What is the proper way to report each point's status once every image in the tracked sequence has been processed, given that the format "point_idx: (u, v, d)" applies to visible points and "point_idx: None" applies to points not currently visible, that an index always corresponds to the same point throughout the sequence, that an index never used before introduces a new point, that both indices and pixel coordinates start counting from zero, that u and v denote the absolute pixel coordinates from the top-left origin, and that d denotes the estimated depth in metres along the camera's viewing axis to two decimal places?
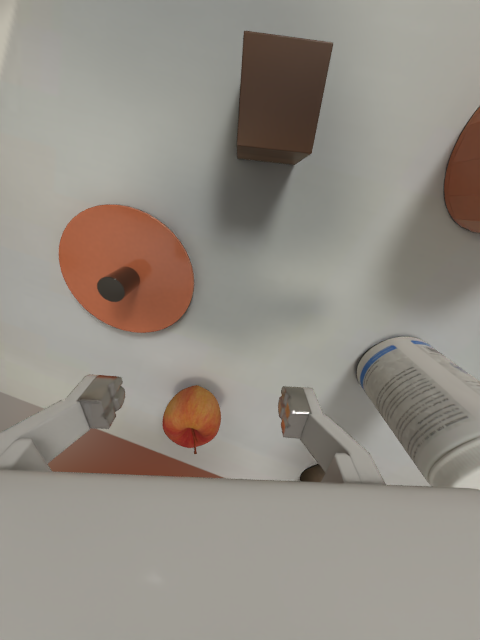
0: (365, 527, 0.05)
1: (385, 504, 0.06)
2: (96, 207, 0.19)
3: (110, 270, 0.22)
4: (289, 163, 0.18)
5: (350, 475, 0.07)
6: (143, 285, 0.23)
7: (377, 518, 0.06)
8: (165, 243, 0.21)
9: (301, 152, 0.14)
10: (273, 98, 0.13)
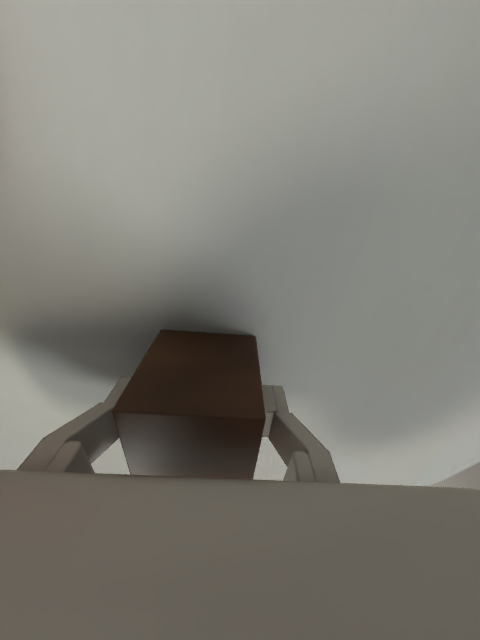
0: (365, 527, 0.05)
1: (385, 504, 0.06)
2: None
3: None
4: None
5: (305, 473, 0.07)
6: None
7: (377, 518, 0.06)
8: None
9: None
10: (190, 451, 0.08)
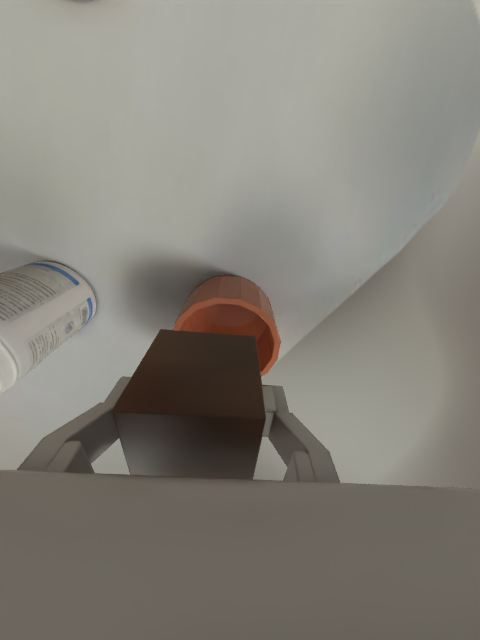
0: (365, 527, 0.05)
1: (385, 504, 0.06)
2: None
3: None
4: None
5: (305, 473, 0.07)
6: None
7: (377, 518, 0.06)
8: None
9: None
10: (189, 451, 0.08)
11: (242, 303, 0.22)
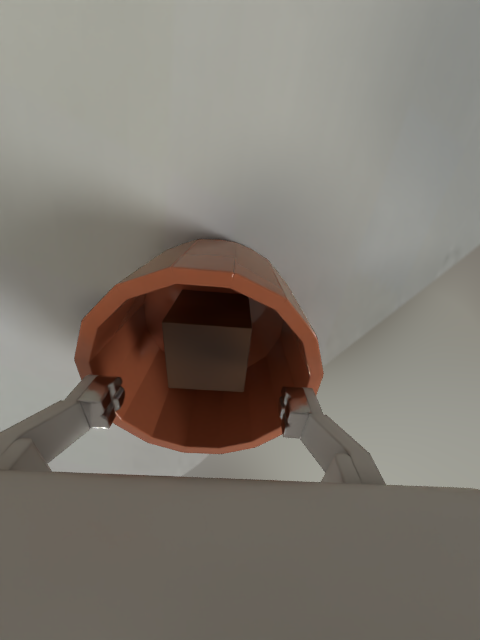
0: (365, 527, 0.05)
1: (385, 504, 0.06)
2: None
3: None
4: None
5: (350, 475, 0.07)
6: None
7: (377, 518, 0.06)
8: None
9: (167, 379, 0.14)
10: (205, 355, 0.13)
11: (239, 285, 0.09)
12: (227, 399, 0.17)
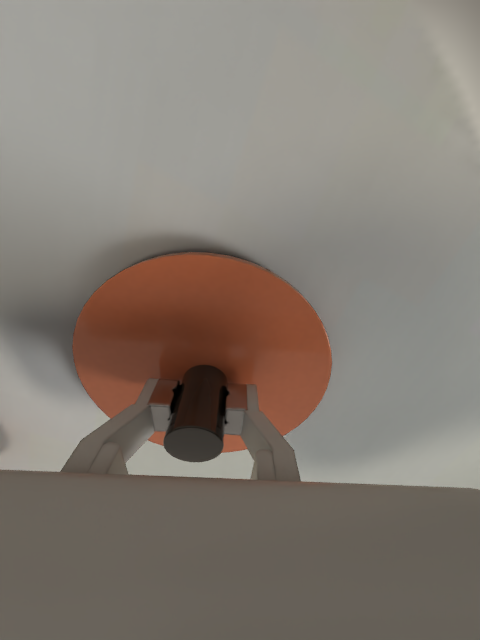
0: (365, 527, 0.05)
1: (385, 504, 0.06)
2: (330, 362, 0.11)
3: (218, 357, 0.11)
4: None
5: (266, 471, 0.07)
6: None
7: (377, 518, 0.06)
8: None
9: None
10: None
11: None
12: None
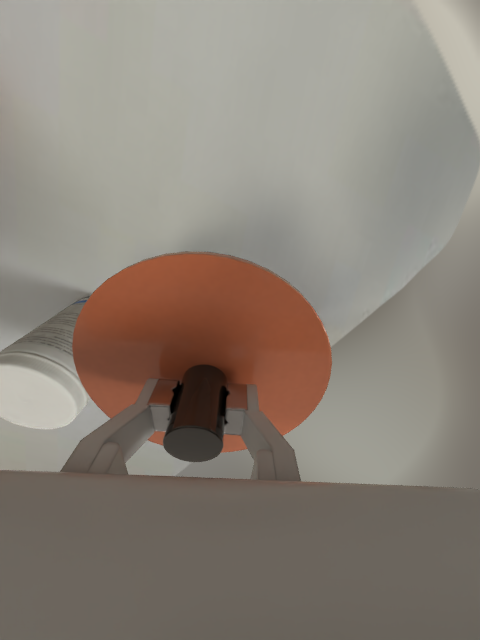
0: (365, 527, 0.05)
1: (385, 504, 0.06)
2: (329, 362, 0.11)
3: (217, 357, 0.11)
4: None
5: (266, 472, 0.07)
6: None
7: (377, 518, 0.06)
8: None
9: None
10: None
11: None
12: None
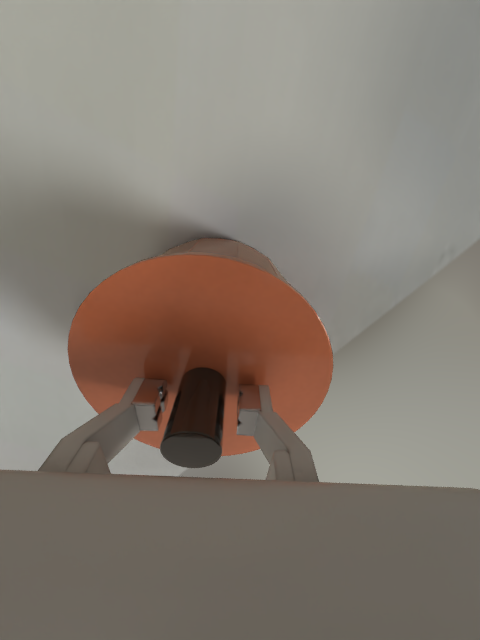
0: (365, 527, 0.05)
1: (385, 504, 0.06)
2: (331, 365, 0.11)
3: (216, 359, 0.11)
4: None
5: (284, 472, 0.07)
6: None
7: (377, 518, 0.06)
8: None
9: None
10: None
11: None
12: None
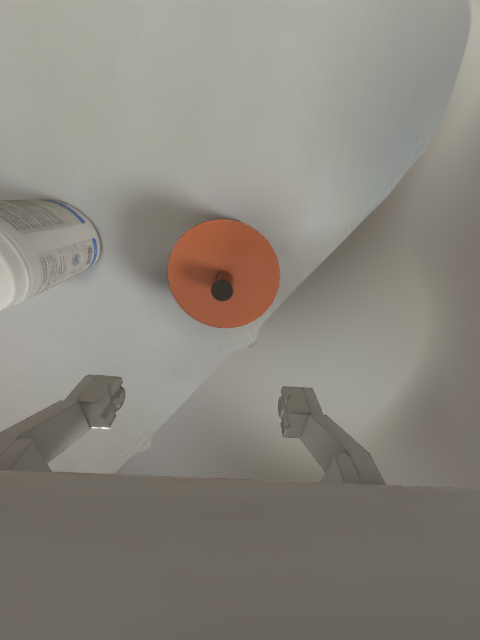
0: (365, 527, 0.05)
1: (385, 504, 0.06)
2: (278, 270, 0.25)
3: (230, 267, 0.25)
4: None
5: (350, 475, 0.07)
6: None
7: (377, 518, 0.06)
8: (251, 313, 0.28)
9: None
10: None
11: None
12: None
